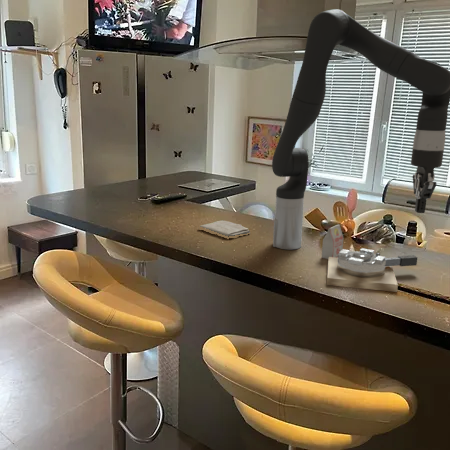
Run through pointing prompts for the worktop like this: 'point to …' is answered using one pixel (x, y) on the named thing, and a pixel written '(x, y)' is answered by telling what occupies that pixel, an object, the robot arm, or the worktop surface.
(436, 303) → the worktop surface
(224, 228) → the washcloth
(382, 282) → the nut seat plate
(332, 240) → the white carton
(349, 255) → the grey frying pan
